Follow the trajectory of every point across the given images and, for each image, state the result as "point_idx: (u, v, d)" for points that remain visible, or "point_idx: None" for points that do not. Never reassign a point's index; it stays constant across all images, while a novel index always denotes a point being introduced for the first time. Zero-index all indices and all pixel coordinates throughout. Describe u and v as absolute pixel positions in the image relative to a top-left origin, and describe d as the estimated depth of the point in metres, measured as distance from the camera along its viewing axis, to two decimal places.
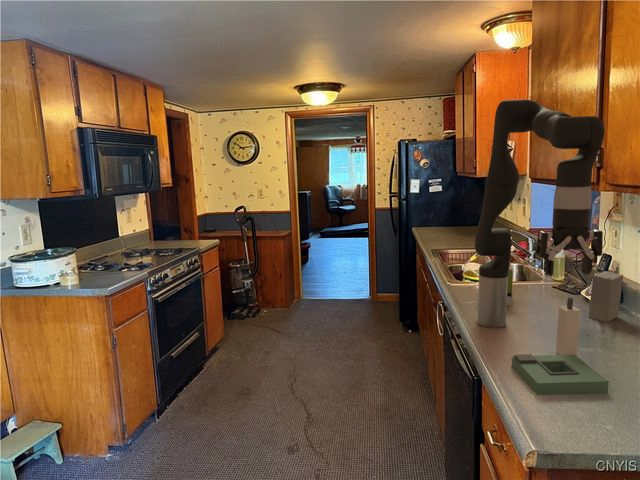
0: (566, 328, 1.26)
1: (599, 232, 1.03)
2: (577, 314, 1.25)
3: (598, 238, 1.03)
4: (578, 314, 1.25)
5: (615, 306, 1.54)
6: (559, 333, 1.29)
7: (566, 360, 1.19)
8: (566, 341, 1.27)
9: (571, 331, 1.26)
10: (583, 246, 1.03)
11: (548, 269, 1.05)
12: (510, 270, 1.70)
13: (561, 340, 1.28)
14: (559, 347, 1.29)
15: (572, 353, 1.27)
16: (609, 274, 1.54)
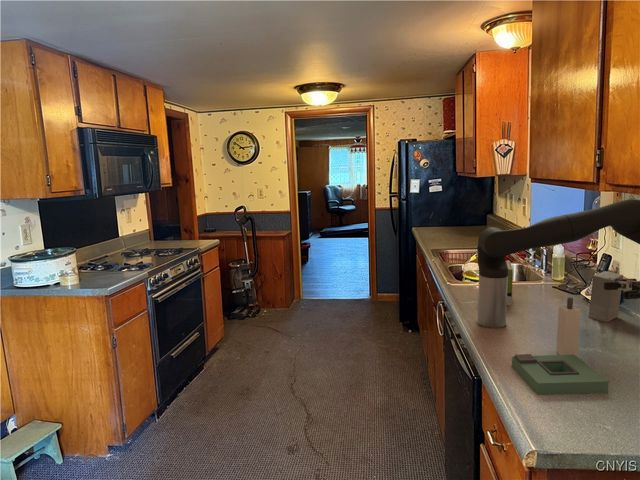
0: (566, 328, 1.26)
1: None
2: (577, 314, 1.25)
3: None
4: (578, 314, 1.25)
5: (615, 306, 1.54)
6: (559, 333, 1.29)
7: (566, 360, 1.19)
8: (566, 341, 1.27)
9: (571, 331, 1.26)
10: None
11: None
12: (510, 270, 1.70)
13: (561, 340, 1.28)
14: (559, 347, 1.29)
15: (572, 353, 1.27)
16: (609, 274, 1.54)
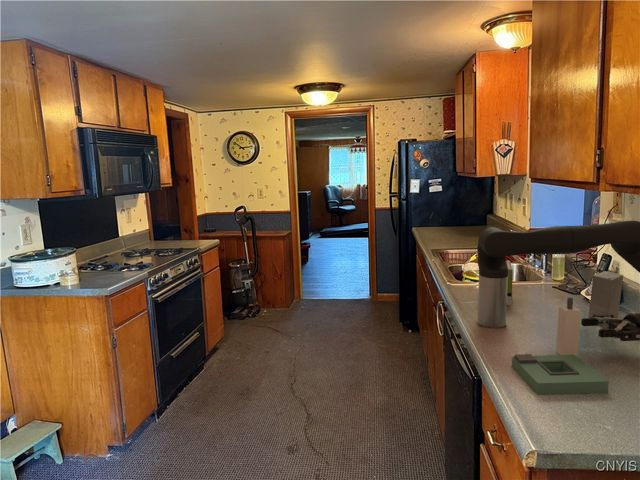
0: (566, 328, 1.26)
1: None
2: (577, 314, 1.25)
3: None
4: (578, 314, 1.25)
5: (615, 306, 1.54)
6: (559, 333, 1.29)
7: (566, 360, 1.19)
8: (566, 341, 1.27)
9: (571, 331, 1.26)
10: None
11: None
12: (510, 270, 1.70)
13: (561, 340, 1.28)
14: (559, 347, 1.29)
15: (572, 353, 1.27)
16: (609, 274, 1.54)
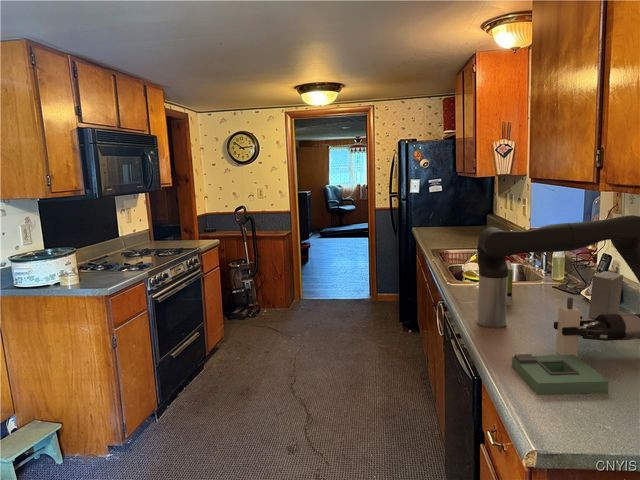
0: None
1: None
2: (577, 314, 1.25)
3: None
4: (578, 314, 1.25)
5: (615, 306, 1.54)
6: (559, 333, 1.29)
7: (566, 360, 1.19)
8: (566, 341, 1.27)
9: None
10: None
11: None
12: (510, 270, 1.70)
13: (561, 340, 1.28)
14: (559, 347, 1.29)
15: (572, 353, 1.27)
16: (609, 274, 1.54)
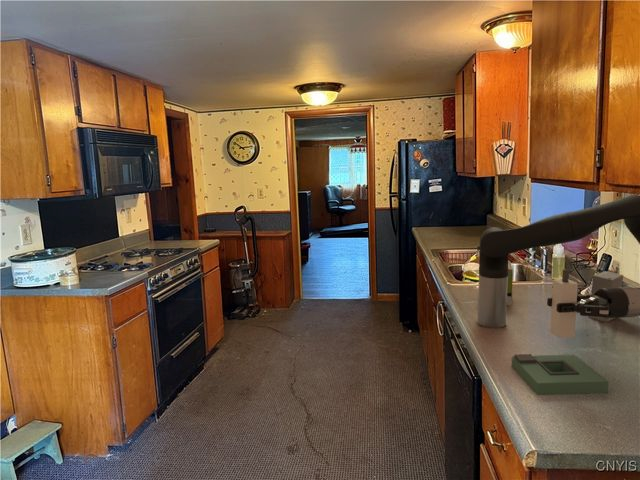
0: None
1: None
2: (573, 288, 1.10)
3: None
4: (575, 288, 1.10)
5: None
6: (554, 310, 1.14)
7: (566, 360, 1.19)
8: (561, 319, 1.11)
9: None
10: None
11: None
12: (510, 270, 1.70)
13: (556, 318, 1.13)
14: (554, 326, 1.14)
15: (568, 333, 1.12)
16: (609, 274, 1.54)
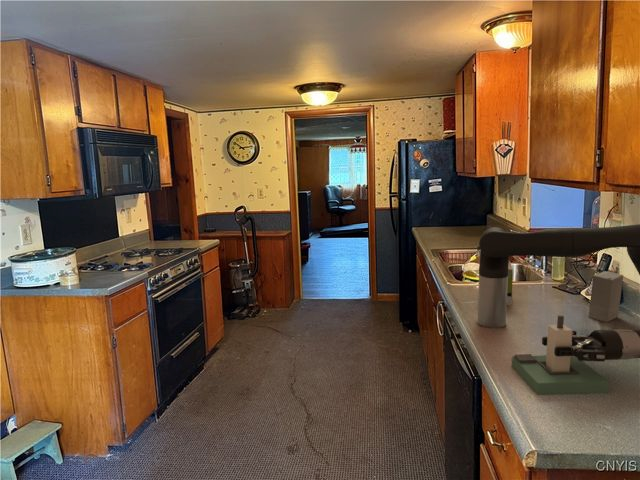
0: None
1: None
2: (568, 334, 1.12)
3: None
4: (569, 334, 1.12)
5: (615, 306, 1.54)
6: (548, 355, 1.16)
7: None
8: (556, 365, 1.13)
9: None
10: None
11: None
12: (510, 270, 1.70)
13: (550, 363, 1.15)
14: None
15: None
16: (609, 274, 1.54)
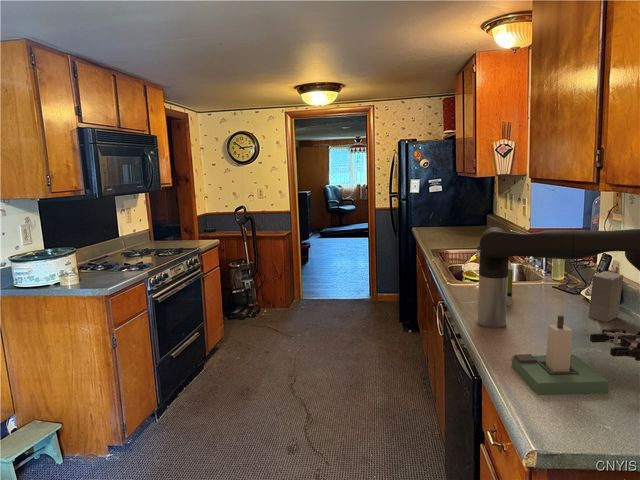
0: (556, 350, 1.12)
1: None
2: (568, 334, 1.12)
3: None
4: (569, 334, 1.12)
5: (615, 306, 1.54)
6: (548, 355, 1.16)
7: None
8: (556, 365, 1.13)
9: (561, 353, 1.13)
10: None
11: None
12: (510, 270, 1.70)
13: (551, 363, 1.15)
14: None
15: None
16: (609, 274, 1.54)
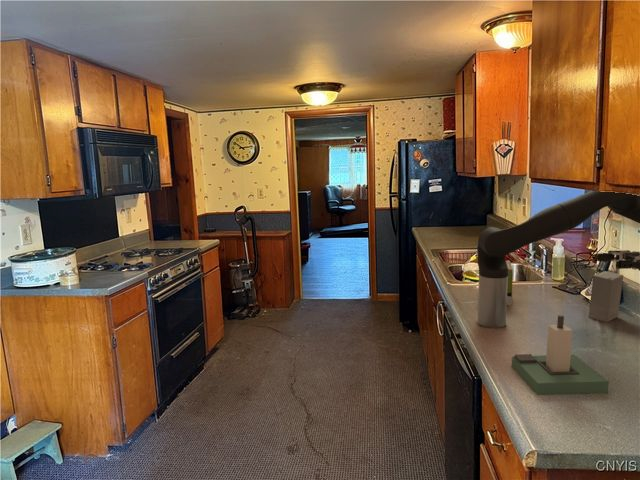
0: (556, 350, 1.12)
1: None
2: (568, 334, 1.12)
3: None
4: (569, 334, 1.12)
5: (615, 306, 1.54)
6: (548, 355, 1.16)
7: None
8: (556, 365, 1.13)
9: (561, 353, 1.13)
10: None
11: None
12: (510, 270, 1.70)
13: (551, 363, 1.15)
14: None
15: None
16: (609, 274, 1.54)
